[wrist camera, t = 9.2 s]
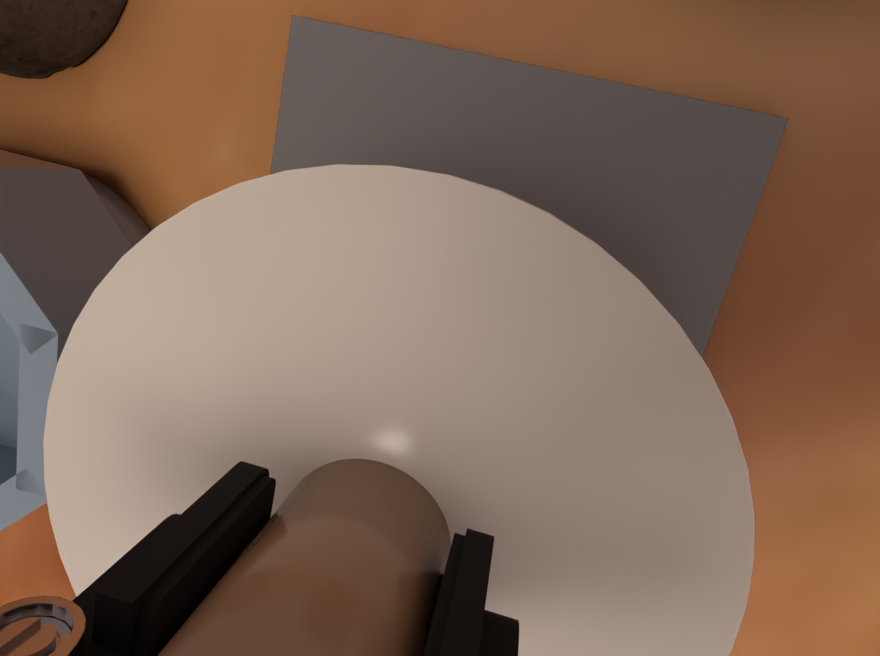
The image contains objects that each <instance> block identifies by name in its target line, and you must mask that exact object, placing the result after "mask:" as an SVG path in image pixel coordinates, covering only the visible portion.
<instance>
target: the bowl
mask: <svg viewBox="0 0 880 656" xmlns="http://www.w3.org/2000/svg"><path fill="white" fill-rule="evenodd" d="M150 232H151V230H150V228H149V227H148V226H147V224H146V223H145V222H144V220H143V219H142V218H141V217H140V216H139V215H138V214H137V213H136V212H135V210H134V209H133V208H132V207H131V206H130V205H129V204H128V203H127V202H126V201H124V200H123V199H122V198H121V197H120V196H118V195H117V194H116V193H115V192H114V191H112V190H111V189H110V188H108V187H107V186H105V185H104V184H102V183H101V182H99V181H97V180H96V179H94V178H92V177H90V176H88V175H86V174H84V173H82V172H81V170H79V169H75V168H71V167H67V166H64V165H61V164H58V163H52V162H47V161H43V160H39V159H35V158H31V157H27V156H23V155H19V154H15V153H11V152H7V151H3V150H0V531H1V530H3V529H5V528H6V527H8V526H9V525H11V524H13V523H14V522H16V521H17V520H19V519H21V518H22V517H24V516H26V515H27V514H29V513H30V512H32V511H34V510H35V509H37V508H38V507H40V506H42V505H43V504H45V503H46V502H47V496H46V489H45V482H44V447H43V439H44V430H45V422H46V413H47V404H48V398H49V394H50V391H51V387H52V383H53V379H54V375H55V371H56V367H57V363H58V360H59V358H60V356H61V353H62V351H63V349H64V346H65V344H66V341H67V339H68V337H69V334H70V332H71V329H72V327H73V325H74V323H75V321H76V320H77V318H78V316H79V315H80V313H81V311H82V310H83V308H84V306H85V305H86V303H87V302H88V300H89V298H90V297H91V295H92V293H93V292H94V290H95V289H96V287H97V286H98V285H99V284H100V283H101V281H102V280H103V279H104V278H105V277H106V275H107V274H108V273H109V272H110V271H111V269H112V268H113V267H114V266H115V265H116V263H117V262H118V261H119V260H120V259H121V257H122V256H123V255H125V254H126V253H127V252H128V251H129V250H130V249H131V248H133V247H134V246H135V245H136V244H137V243H138V242H139V241H141V240H142V239H143V238H144V237H145V236H146V235H147V234H149V233H150Z"/></svg>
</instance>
